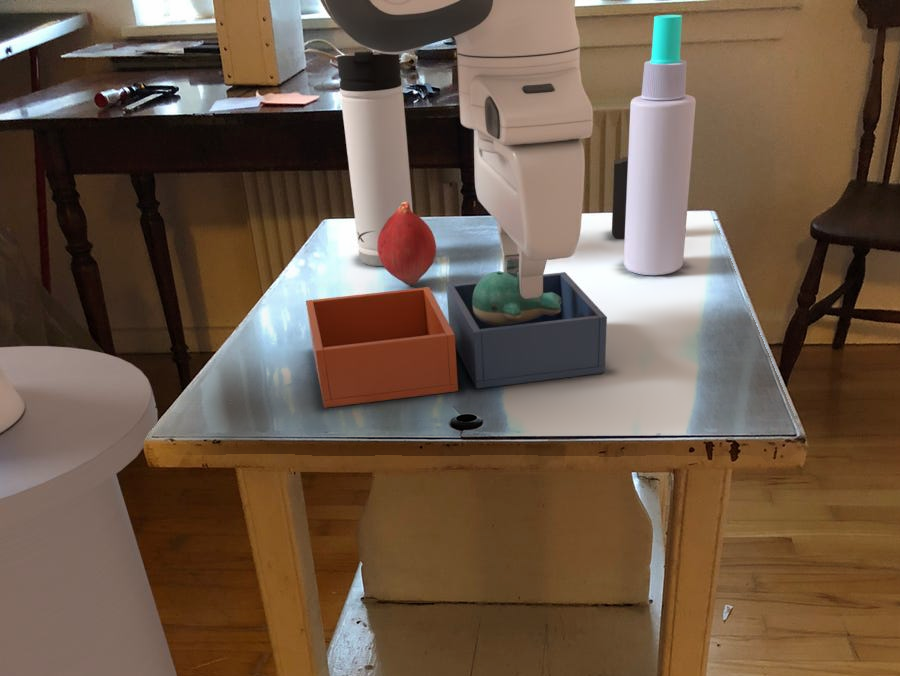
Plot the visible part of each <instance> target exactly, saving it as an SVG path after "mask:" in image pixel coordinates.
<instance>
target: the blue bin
mask: <svg viewBox="0 0 900 676" xmlns="http://www.w3.org/2000/svg"><path fill="white" fill-rule="evenodd" d="M478 282H479V281H471V282H463V283H454V284H447V285H446V300H447V314H448V315H447V316H448V323H449V325H450V327H451V329H452V331H453V333H454V335H455V349H456V352H457V354H458V355H459V357H460V359H461V361H462V364H463V365H464V367H465V369H466V370H467V373H468V374H469V377H470V378H471V381H472V382H473V384H474V386H475V388H476V389H486V388H493V387H501V386H509V385H517V384H524V383H532V382H540V381H541V382H542V381H548V380H557V379H566V378H574V377H582V376H589V375H590V376H591V375H596V374H605V372H606V357H607V356H606V354H607V353H606V352H607V325H608V322H607V321H608V317H607V316H606V314H605V313H604V312H603V311H602V310H601V309H600V308H599V307H598V306H597V304H596V303H594V302H593V300H592V299H591V298H590V297H589V296H588V295H587V294H586V293H585V292H584V291H583V290H582V289H581V287H580V286H578V284H577V283H576V282H575V281H574V280H573V279H572V277H571V276H569V275H568V273H566V272H565V271H562V272H553V273H544V274H543V293H550V292H552V293H555V294H557V295H558V296H560V298H561V301H562V302H561V304H560V307H561V311H560V312H559V313H558V314H556V315H554V316H549V315H542V316H540V317H538V318H535V319H532V320H529V321H525V322H521V323H516V324H510V325H503V326H494V325H489V324H486V323H484V322H482V321H480V320H479V319H478V318H477V317H476V316H475V314H474V312H473V302H472V301H473V293H474V290H475V287H476V285H477V284H478Z"/></svg>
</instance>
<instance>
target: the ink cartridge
mask: <svg viewBox="0 0 900 676" xmlns="http://www.w3.org/2000/svg"><path fill="white" fill-rule="evenodd" d="M627 174H628V156H623V157H621V158H617V159H614V161H613V183H612V184H613V185H612V187H613V188H612V215H611V236H612V237H613V238H614V239H617V240H622V239H623V240H625V221H626V198H627Z"/></svg>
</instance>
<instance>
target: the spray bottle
mask: <svg viewBox="0 0 900 676" xmlns="http://www.w3.org/2000/svg"><path fill="white" fill-rule="evenodd" d="M682 25H683V15H681V14H662V15H655V16H654V17H653V32H652V42H651V43H652V45H651V59H650V60H647V61H644V64H643V73H642V74H643V75H642V85H641V95H638V96H635V97H633V98H632V99H631V100H630V105H629V107H630V108H629V129H628V130H629V131H628V150H627V151H628V153H627V155H628V156H627V157H628V174H627V198H626V221H625V239H624V245H623V247H624V248H623V265H624V266H623V267H624V268H625V269H626V270H628V271H629V272H631V273H633V274H634V273H635V274H637V275H643V276H662V275H668V274H672V273H675V272H677V271H679V270H680V269H681V268H682V266H683V265H684V258H685V257H684V256H685V243H686V233H687V230H686V229H687V217H688V206H689V194H690V193H689V192H690V180H691V168H692V167H691V166H692V155H693V141H694V128H695V115H696V105H697V104H696V102H697V101H696V98H695V97H694V96H692V95H690V94H687V93H686V92H687V89H686V88H687V60H685V59H681V45H682Z"/></svg>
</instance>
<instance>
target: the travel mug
mask: <svg viewBox="0 0 900 676" xmlns="http://www.w3.org/2000/svg"><path fill="white" fill-rule="evenodd" d="M336 61H337V63H336V64H337V71H338V78H339V79H340V80H339V92H340V95H341V97H340V103H341V109H342V111H341V112H342V119H343V126H344V135H345V144H346V154H347V162H348V170H349V179H350V189H351V197H352V203H353V204H352V205H353V212H354V221H355V228H356V229H355V230H356V238H357V239H356V240H357V244H358V255H359V260H360V261H361V262H362V263H363V264H364V265H368V266H373V267H384V266H383V264H382V263H381V261H380V259H379V255H378V251H377V242H378V237H379V234H380V232H381V229H382V228H383V226H384V225H385V223H386V222H387V220H388V219H389V218H390V217H391V216H392V215H393V214H394V213H395V212H396V210H397V209H398V208H399V207H400V206H401V204H402V203H404V202H408V203H409V205H410V209H411V211H412V212H413V213H414V211H413V210H414V209H413V200H412V199H413V198H412V187H411V185H412V184H411V173H410V162H409V161H410V160H409V151H408V150H409V149H408V135H407V125H406V113H405V101H404V100H405V99H404V93H403V92H402V91H403V82H402V77H401V73H402V71H401V60H400V54H384V53H377V54H376V53H375V54H374V51H373V50H369V51H368V50H367V51H365V50H364V51H355V52H354V55H339V56H336Z"/></svg>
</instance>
